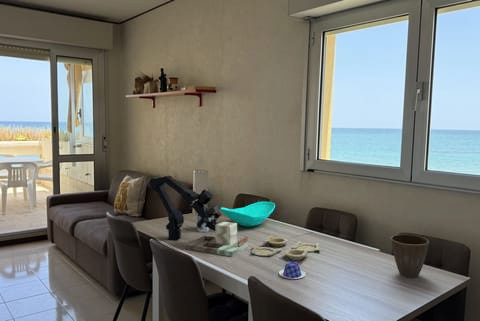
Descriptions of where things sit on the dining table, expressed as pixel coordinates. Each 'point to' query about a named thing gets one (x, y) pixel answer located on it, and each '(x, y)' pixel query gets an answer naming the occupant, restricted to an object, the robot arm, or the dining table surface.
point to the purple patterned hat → (292, 271)
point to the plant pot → (409, 254)
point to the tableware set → (294, 253)
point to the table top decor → (250, 213)
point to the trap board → (217, 246)
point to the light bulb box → (203, 228)
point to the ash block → (226, 233)
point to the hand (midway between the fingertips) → (218, 231)
